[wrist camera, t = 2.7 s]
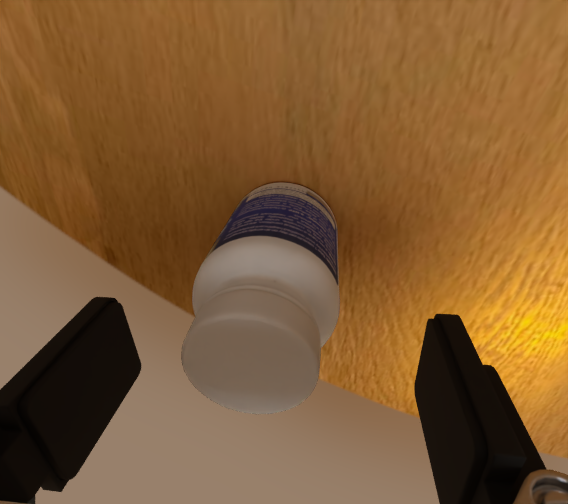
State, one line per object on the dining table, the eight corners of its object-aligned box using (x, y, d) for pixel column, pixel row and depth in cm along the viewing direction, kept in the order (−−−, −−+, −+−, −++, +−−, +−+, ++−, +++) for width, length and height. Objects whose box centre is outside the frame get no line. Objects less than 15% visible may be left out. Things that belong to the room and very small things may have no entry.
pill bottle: (223, 184, 17) (131, 294, 9) (334, 175, 16) (338, 287, 8) (242, 278, 19) (184, 426, 11) (339, 274, 18) (346, 431, 11)
